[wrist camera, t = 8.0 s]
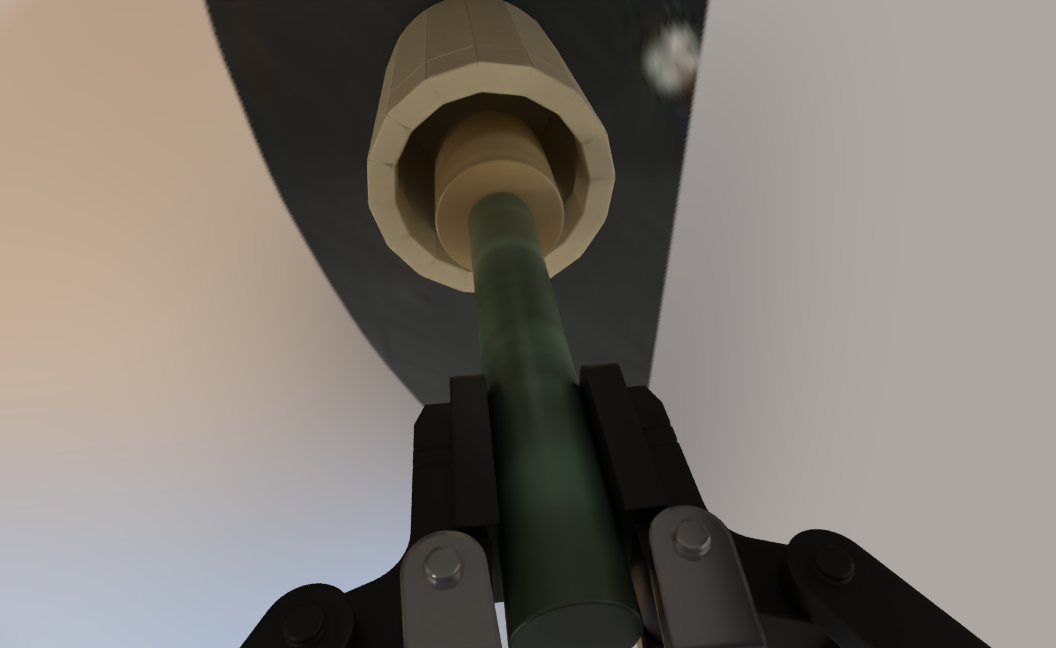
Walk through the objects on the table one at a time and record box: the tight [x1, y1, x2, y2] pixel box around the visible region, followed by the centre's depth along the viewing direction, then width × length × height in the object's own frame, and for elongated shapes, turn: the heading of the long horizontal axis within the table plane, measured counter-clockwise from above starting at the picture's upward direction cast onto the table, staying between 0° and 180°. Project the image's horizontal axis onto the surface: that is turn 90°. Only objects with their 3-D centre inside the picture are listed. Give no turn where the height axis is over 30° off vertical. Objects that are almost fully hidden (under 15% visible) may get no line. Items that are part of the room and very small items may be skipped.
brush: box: [435, 110, 644, 648], centre depth 16 cm, size 4×4×18 cm
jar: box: [367, 0, 615, 292], centre depth 26 cm, size 8×8×11 cm
